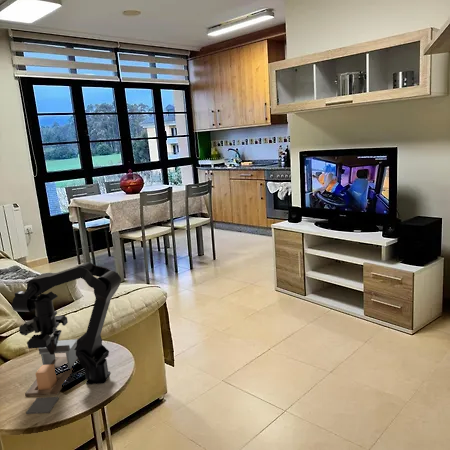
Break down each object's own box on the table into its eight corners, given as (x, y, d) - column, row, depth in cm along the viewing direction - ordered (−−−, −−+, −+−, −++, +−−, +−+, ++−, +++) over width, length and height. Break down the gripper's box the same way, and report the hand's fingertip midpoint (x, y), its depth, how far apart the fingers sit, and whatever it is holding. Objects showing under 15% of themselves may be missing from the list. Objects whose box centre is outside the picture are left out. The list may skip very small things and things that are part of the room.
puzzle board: (81, 358, 156) (81, 355, 156) (57, 394, 135) (56, 391, 135) (53, 359, 157) (53, 357, 157) (25, 396, 135) (24, 393, 135)
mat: (58, 398, 133) (58, 396, 133) (49, 412, 126) (49, 411, 126) (37, 399, 133) (36, 397, 133) (26, 413, 126) (26, 412, 126)
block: (57, 381, 142) (53, 364, 141) (50, 390, 137) (47, 372, 136) (45, 382, 143) (42, 364, 141) (38, 391, 138) (35, 373, 136)
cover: (80, 356, 155) (76, 335, 154) (71, 369, 147) (67, 346, 145) (52, 358, 156) (48, 337, 154) (42, 370, 148) (38, 348, 146)
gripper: (34, 302, 151) (41, 342, 154) (6, 325, 133) (15, 370, 136) (64, 300, 150) (71, 340, 154) (41, 323, 132) (49, 368, 136)
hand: (52, 354), depth 145 cm, fingers closed
